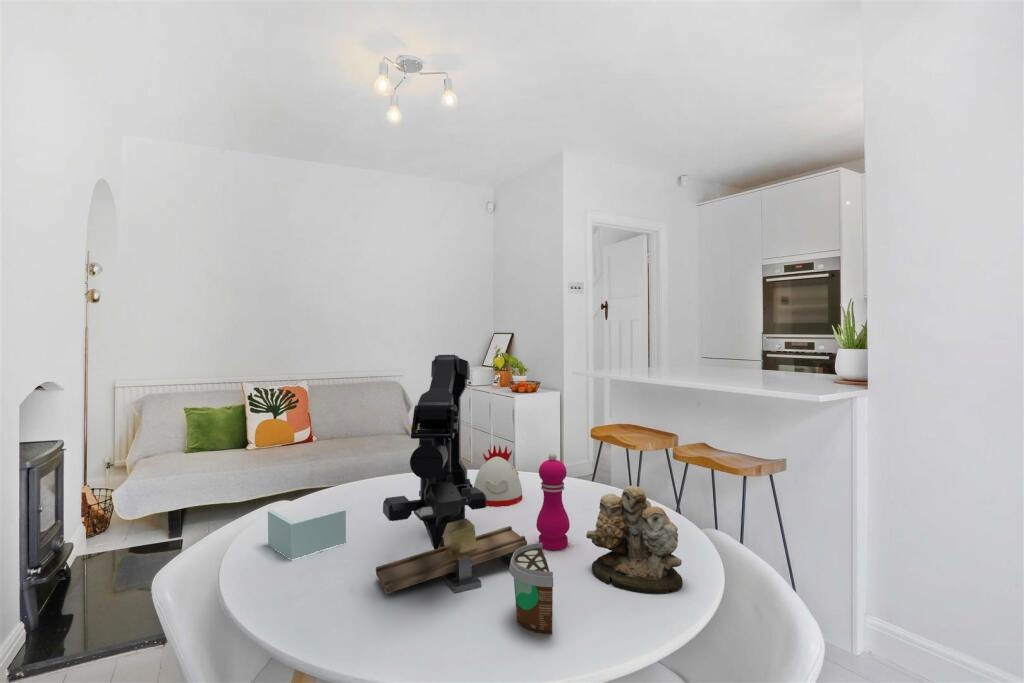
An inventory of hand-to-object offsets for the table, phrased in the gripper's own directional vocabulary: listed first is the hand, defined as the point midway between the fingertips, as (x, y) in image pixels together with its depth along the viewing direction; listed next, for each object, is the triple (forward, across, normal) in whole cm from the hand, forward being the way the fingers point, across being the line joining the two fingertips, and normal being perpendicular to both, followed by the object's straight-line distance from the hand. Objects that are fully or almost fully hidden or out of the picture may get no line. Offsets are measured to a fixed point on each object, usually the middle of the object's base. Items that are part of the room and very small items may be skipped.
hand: (435, 548), depth 101 cm
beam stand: (+5, +10, 0) cm, 11 cm away
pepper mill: (+5, +28, +4) cm, 28 cm away
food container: (+6, +9, -21) cm, 23 cm away
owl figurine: (+5, +34, -16) cm, 38 cm away
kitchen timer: (+5, +30, +39) cm, 49 cm away
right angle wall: (+6, -20, +28) cm, 35 cm away
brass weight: (+2, +5, 0) cm, 5 cm away
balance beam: (+2, +4, 0) cm, 4 cm away
